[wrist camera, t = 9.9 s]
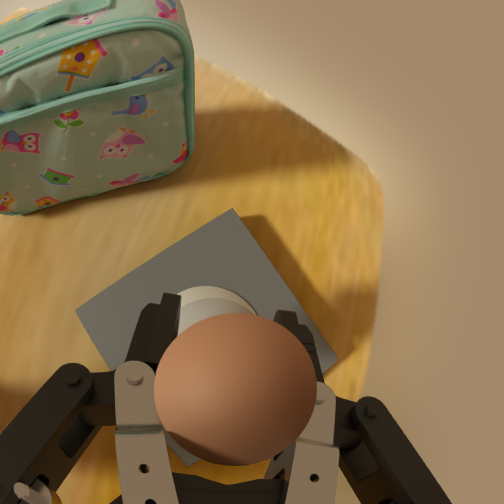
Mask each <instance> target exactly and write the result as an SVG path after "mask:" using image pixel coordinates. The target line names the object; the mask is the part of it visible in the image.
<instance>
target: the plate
mask: <svg viewBox="0 0 504 504" xmlns="http://www.w3.org/2000/svg"><path fill="white" fill-rule="evenodd" d="M164 292H165V293H171V294H177V295H181V307H183V306H185V305H186V304H188V303H191V302H193V301H196V300H200V299H205V298H222V299H227V300H231V301H234V302H236V303H239V304H241V305H242V306H244V307H246V308H247V309H249V310H250V311H251V312H252V313H253V314H254V315H257V316H262V317H264V318H267V319H270V320H272V321H273V319H274V316H275V314H276V311H277V310H278V309H279V310H287V311H295V312H296V314H297V319H298V323H299V324H303V325H306V326H307V327H308V329H309V330H310V331H311V333H312V334H313V338H314V342H315V346H316V350H317V354H318V358H319V362H320V366H321V371H322V374H323V373H324V372H325V371H326V370H327V369H329V368H330V367H331V366H332V365H333V364H334V363H336V362H337V361H338V360H339V359H338V358H337V356H336V355H335V353H334V352H333V351H332V349H331V348H330V346H329V345H328V343H327V342H326V340H325V339H324V338H323V336H322V335H321V333H320V332H319V330H318V329H317V327H316V326H315V325H314V323H313V322H312V320H311V319H310V317H309V316H308V314H307V313H306V312H305V310H304V309H303V307H302V306H301V304H300V303H299V302H298V300H297V299H296V297H295V296H294V294H293V293H292V292H291V290H290V289H289V287H288V286H287V284H286V283H285V282H284V280H283V279H282V277H281V276H280V274H279V273H278V272H277V270H276V269H275V267H274V266H273V264H272V263H271V262H270V260H269V259H268V257H267V256H266V254H265V253H264V252H263V250H262V249H261V247H260V246H259V245H258V243H257V242H256V240H255V239H254V237H253V236H252V235H251V233H250V232H249V230H248V229H247V228H246V226H245V225H244V223H243V222H242V221H241V219H240V218H239V216H238V215H237V213H236V212H235V211H234V209H233V208H232V209H230V210H228V211H227V212H225V213H223V214H222V215H220V216H218V217H217V218H215V219H213V220H212V221H210V222H209V223H207V224H205V225H204V226H202V227H200V228H199V229H197V230H196V231H194V232H192V233H191V234H189V235H188V236H186V237H184V238H183V239H181V240H180V241H178V242H176V243H175V244H173V245H172V246H170V247H169V248H167V249H165V250H164V251H162V252H161V253H159V254H158V255H156V256H155V257H153V258H152V259H150V260H148V261H147V262H145V263H144V264H142V265H141V266H139V267H138V268H136V269H135V270H133V271H132V272H130V273H129V274H127V275H126V276H124V277H123V278H121V279H120V280H118V281H117V282H115V283H114V284H112V285H111V286H109V287H108V288H106V289H105V290H103V291H102V292H101V293H99V294H98V295H96V296H95V297H93V298H92V299H90V300H89V301H88V302H86V303H85V304H83V305H82V306H80V307H79V308H78V309H76V310H75V311H76V313H77V315H78V317H79V319H80V320H81V322H82V324H83V326H84V328H85V329H86V331H87V333H88V334H89V336H90V338H91V339H92V341H93V343H94V344H95V346H96V348H97V349H98V351H99V353H100V354H101V356H102V357H103V359H104V360H105V362H106V364H107V365H108V367H109V368H110V370H111V371H113V370H115V369H117V368H118V367H119V366H120V365H121V364H123V363H124V361H125V359H126V356H127V353H128V350H129V347H130V343H131V340H132V337H133V334H134V331H135V328H136V325H137V322H138V319H139V316H140V313H141V310H142V309H143V308H144V307H145V306H146V305H147V304H148V303H154V304H160V303H161V299H162V296H163V293H164ZM161 423H162V422H161ZM162 428H163V431H164V436H165V442H166V443H167V445H168V446H169V447H170V448H171V449H172V450H173V451H174V452H175V454H176V455H177V456H178V457H179V458H180V459H181V460H182V461H183V462H184V463H185V464H186V465H187V467H188V466H190V465H192V464H194V463H195V462H197V461H199V460H201V459H200V458H198V457H196V456H194V455H192V454H191V453H189V452H187V451H186V450H185V449H183V448H182V447H181V446H180V445H178V444H177V443H176V442H175V441H174V440H173V438H172V437H171V436H170V435H169V433H168V432H167V431H166V429H165V428H164V426H163V424H162Z"/></svg>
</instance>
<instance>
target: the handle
mask: <svg viewBox="0 0 504 504" xmlns="http://www.w3.org/2000/svg"><path fill="white" fill-rule="evenodd" d="M316 396H317V380H316V373H315V369H314V366H313V363H312V361H311V358H310V356H309V354H308V352H307V351H306V349H305V347H304V346H303V345H302V343H301V342H300V341H299V340H298V339H297V338H296V337H295V336H294V335H293V334H292V333H291V332H290V331H289V330H287V329H286V328H284V327H283V326H282V325H280V324H278V323H276V322H274V321H272V320H270V319H267V318H264V317H262V316H257V315H254V314H253V313H252V312H251V311H250V310H249V309H247V308H246V307H244V306H242V305H241V304H239V303H236V302H234V301H231V300H227V299H222V298H205V299H200V300H196V301H193V302H191V303H188V304H186V305H185V306H183V307H181V308H180V321H179V329H178V336H177V337H176V338H175V339H174V340H173V341H172V343H171V344H170V345H169V347H168V348H167V349H166V351H165V353H164V354H163V356H162V358H161V360H160V363H159V365H158V368H157V371H156V376H155V381H154V400H155V405H156V409H157V412H158V415H159V418H160V420H161V422H162V424H163V426H164V428H165V429H166V431H167V432H168V433H169V435H170V436H171V437H172V438H173V440H174V441H175V442H176V443H177V444H178V445H180V446H181V447H182V448H183V449H185V450H186V451H187V452H189V453H191V454H192V455H194V456H196V457H198V458H200V459H203V460H205V461H208V462H212V463H215V464H221V465H231V466H239V465H248V464H253V463H258V462H261V461H264V460H267V459H269V458H271V457H273V456H275V455H277V454H279V453H280V452H282V451H283V450H285V449H286V448H287V447H288V446H290V445H291V444H292V443H293V442H294V441H295V440H296V439H297V438H298V437H299V436H300V434H301V433H302V432H303V430H304V429H305V427H306V426H307V424H308V422H309V420H310V418H311V416H312V413H313V411H314V407H315V403H316Z"/></svg>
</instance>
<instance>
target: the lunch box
mask: <svg viewBox="0 0 504 504" xmlns="http://www.w3.org/2000/svg"><path fill="white" fill-rule="evenodd" d="M194 140H195V74H194V50H193V44H192V40H191V36H190V32H189V29H188V26H187V23H186V20H185V14H184V10H183V7H182V4H181V2H180V0H63V1H60V2H57V3H54V4H51V5H48V6H45V7H43V8H40V9H37V10H35V11H32V12H29V13H27V14H24V15H22V16H19V17H17V18H14V19H12V20H10V21H8V22H6V23H4V24H2V25H0V214H4V215H22V214H26V213H30V212H33V211H36V210H39V209H42V208H45V207H49V206H52V205H55V204H59V203H62V202H66V201H69V200H73V199H77V198H82V197H86V196H89V197H91V196H94V195H98V194H100V193H103V192H106V191H109V190H113V189H116V188H120V187H124V186H128V185H132V184H136V183H140V182H144V181H149V180H152V179H156V178H159V177H162V176H165V175H167V174H169V173H171V172H173V171H175V170H176V169H178V168H180V167H181V166H182V165H184V164H185V163H186V162H187V161H188V160H189V158H190V157H191V154H192V153H193V150H194Z"/></svg>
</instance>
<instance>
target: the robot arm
mask: <svg viewBox="0 0 504 504" xmlns="http://www.w3.org/2000/svg"><path fill="white" fill-rule="evenodd" d="M180 308H181V295H177V294H171V293H165V292H164V293H163V296H162V299H161V303H160V304H154V303H148V304H147V305H146V306H145V307H144V308H143V309H142V310H141V313H140V316H139V319H138V322H137V325H136V328H135V331H134V334H133V337H132V340H131V343H130V347H129V350H128V353H127V356H126V359H125V361H124V363H123V364H121V365H120V366H119V367H118V368H117V369H115V370H113V371H110V372H99V373H90V372H89V370H88V369H87V368H86V367H85V366H83V365H81V364H78V363H68V364H65V365H63V366H61V367H60V368H59V369H58V370H57V371H56V372H55V373H54V374H53V375H52V376H51V377H50V379H49V380H48V381H47V382H46V383H45V384H44V385H43V386H42V387H41V388H40V390H39V391H38V392H37V393H36V394H35V395H34V396H33V397H32V399H31V400H30V401H29V402H28V403H27V404H26V405H25V407H24V408H23V409H22V410H21V411H20V412H19V413H18V415H17V416H16V417H15V418H14V419H13V420H12V422H11V423H10V424H9V425H8V426H7V428H6V429H5V430H4V431H3V432H2V434H1V435H0V504H62V502H61V499H60V497H59V496H58V495H57V493H56V491H57V489H58V488H59V487H60V485H61V484H62V482H63V481H64V479H65V478H66V477H67V475H68V474H69V472H70V471H71V469H72V468H73V467H74V465H75V464H76V462H77V461H78V459H79V458H80V457H81V455H82V454H83V452H84V451H85V450H86V448H87V447H88V445H89V444H90V443H91V441H92V440H93V438H94V437H95V436H96V434H97V433H98V431H99V430H100V429H101V427H102V426H110V425H116V429H115V444H116V455H117V464H118V472H119V480H120V487H121V493H122V494H121V495H120V496H119V497H117V498H116V499H115V500H113V501H112V502H111V503H110V504H334V503H335V494H336V484H337V475H338V466H339V467H340V469H341V471H342V472H343V474H344V476H345V477H346V479H347V481H348V483H349V484H350V486H351V487H352V489H353V491H354V493H355V494H356V496H357V498H358V499H359V501H360V502H361V504H452V503H451V502H450V500H449V499H448V497H447V496H446V494H445V492H444V491H443V490H442V488H441V487H440V485H439V484H438V482H437V481H436V479H435V478H434V476H433V475H432V473H431V472H430V470H429V469H428V467H427V466H426V464H425V463H424V462H423V460H422V459H421V457H420V456H419V454H418V453H417V452H416V450H415V448H414V447H413V446H412V444H411V443H410V441H409V440H408V438H407V437H406V435H405V434H404V433H403V431H402V430H401V428H400V427H399V425H398V424H397V422H396V421H395V420H394V418H393V417H392V415H391V414H390V413H389V411H388V410H387V408H386V407H385V405H384V404H383V403H382V402H381V401H380V400H378V399H376V398H374V397H363V398H361V399H359V400H358V402H353V401H349V400H346V399H342V398H339V397H337V396H335V394H334V392H333V390H332V389H331V388H330V387H329V386H328V385H326V384H325V383H324V379H323V375H322V371H321V366H320V362H319V358H318V354H317V350H316V346H315V342H314V338H313V334H312V333H311V331H310V330H309V329H308V327H307V326H306V325H303V324H299V323H298V319H297V314H296V312H295V311H287V310H279V309H278V310H277V311H276V314H275V316H274V319H273V321H274V322H276V323H278V324H280V325H282V326H283V327H284V328H286V329H287V330H289V331H290V332H291V333H292V334H293V335H294V336H295V337H296V338H297V339H298V340H299V341H300V342H301V343H302V345H303V346H304V347H305V349H306V351H307V352H308V354H309V356H310V358H311V361H312V363H313V366H314V369H315V373H316V380H317V396H316V403H315V407H314V411H313V413H312V416H311V418H310V420H309V422H308V424H307V426H306V427H305V429H304V430H303V432H302V433H301V434H300V436H299V437H298V438H297V439H296V440H295V441H294V442H293V443H292V444H291V445H290V446H288V447H287V448H286V449H285V450H283V451H282V452H280V453H279V454H277V455H275V456H273V457H271V461H270V465H269V467H268V469H267V471H266V474H265V477H264V479H257V480H252V481H248V482H243V483H238V484H232V485H225V484H222V483H218V482H215V481H211V480H208V479H205V478H202V477H199V476H196V475H188V474H181V473H174V472H171V467H170V463H169V458H168V452H167V447H166V442H165V436H164V431H163V428H162V423H161V420H160V418H159V415H158V412H157V409H156V405H155V400H154V381H155V376H156V371H157V368H158V365H159V363H160V360H161V358H162V356H163V354H164V353H165V351H166V349H167V348H168V347H169V345H170V344H171V343H172V341H173V340H174V339H175V338H176V337H177V336H178V329H179V321H180Z"/></svg>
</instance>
